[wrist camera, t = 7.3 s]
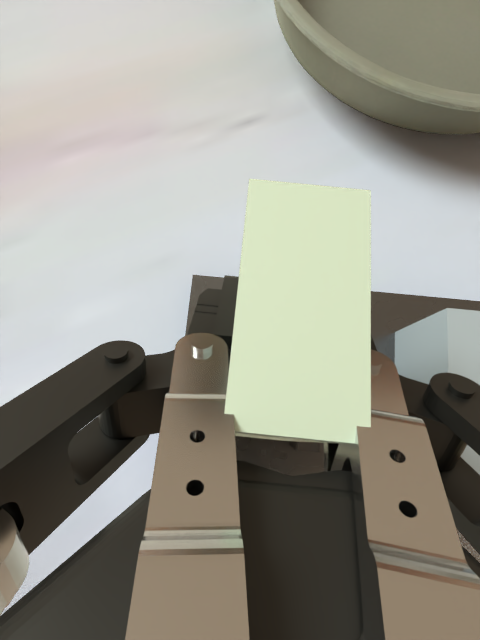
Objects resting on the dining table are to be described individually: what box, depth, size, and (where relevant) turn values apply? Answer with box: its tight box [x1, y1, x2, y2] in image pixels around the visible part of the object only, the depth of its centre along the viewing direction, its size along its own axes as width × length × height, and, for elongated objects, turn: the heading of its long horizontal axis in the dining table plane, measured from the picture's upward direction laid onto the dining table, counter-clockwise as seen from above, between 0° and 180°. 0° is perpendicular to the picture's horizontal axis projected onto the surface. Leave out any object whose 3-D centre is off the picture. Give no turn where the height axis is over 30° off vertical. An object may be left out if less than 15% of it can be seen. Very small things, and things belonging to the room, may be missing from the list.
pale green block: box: [224, 179, 371, 444], centre depth 13 cm, size 2×5×12 cm, turn 175°
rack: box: [185, 275, 480, 476], centre depth 18 cm, size 21×10×4 cm, turn 85°
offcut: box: [395, 308, 480, 475], centre depth 16 cm, size 4×6×5 cm, turn 174°
